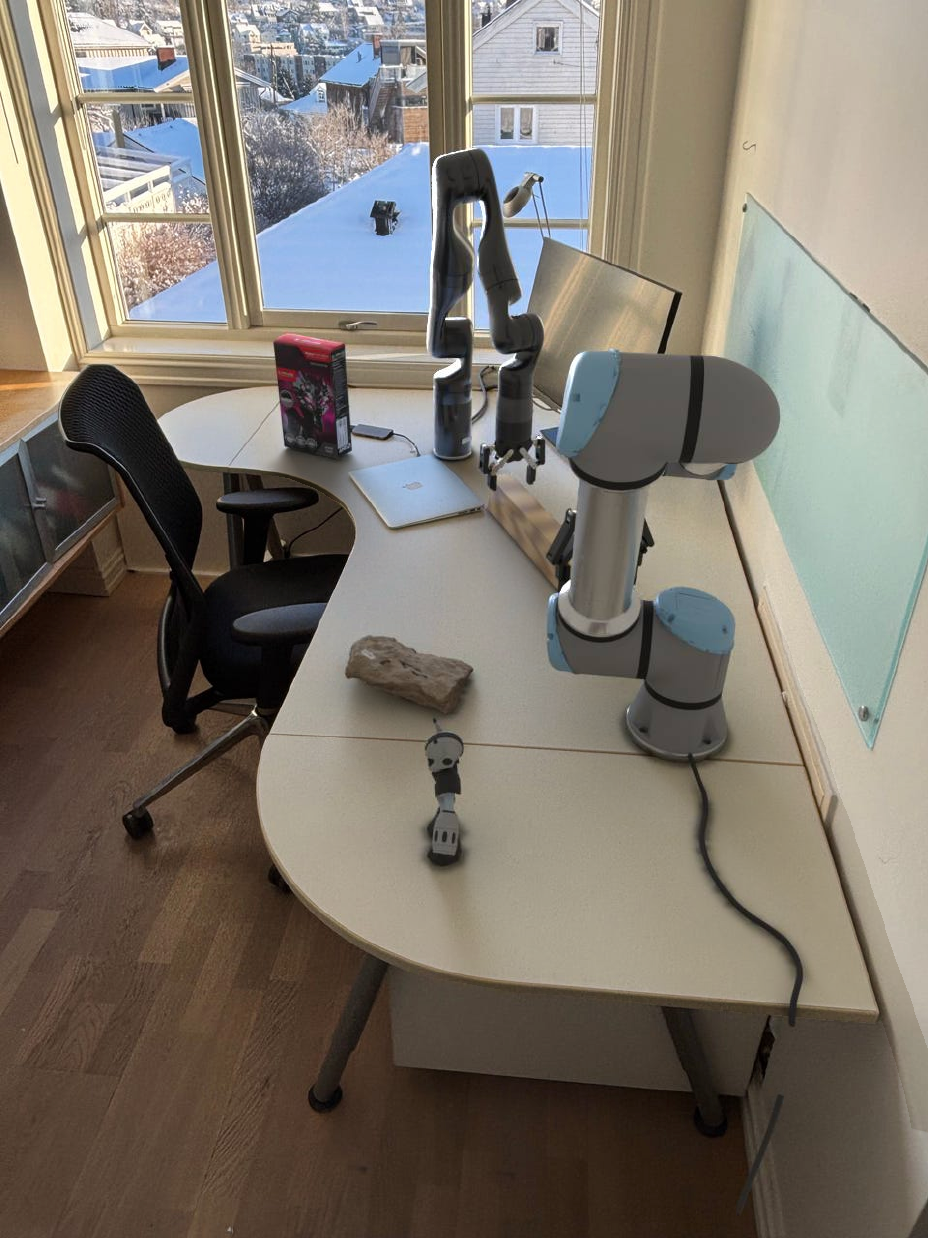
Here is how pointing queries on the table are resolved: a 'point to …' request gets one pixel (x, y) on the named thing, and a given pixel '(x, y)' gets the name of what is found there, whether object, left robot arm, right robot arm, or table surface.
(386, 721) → the table surface
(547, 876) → the table surface
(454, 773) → the robot
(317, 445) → the graphics card box
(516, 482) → the bar
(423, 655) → the stone
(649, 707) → the right robot arm
